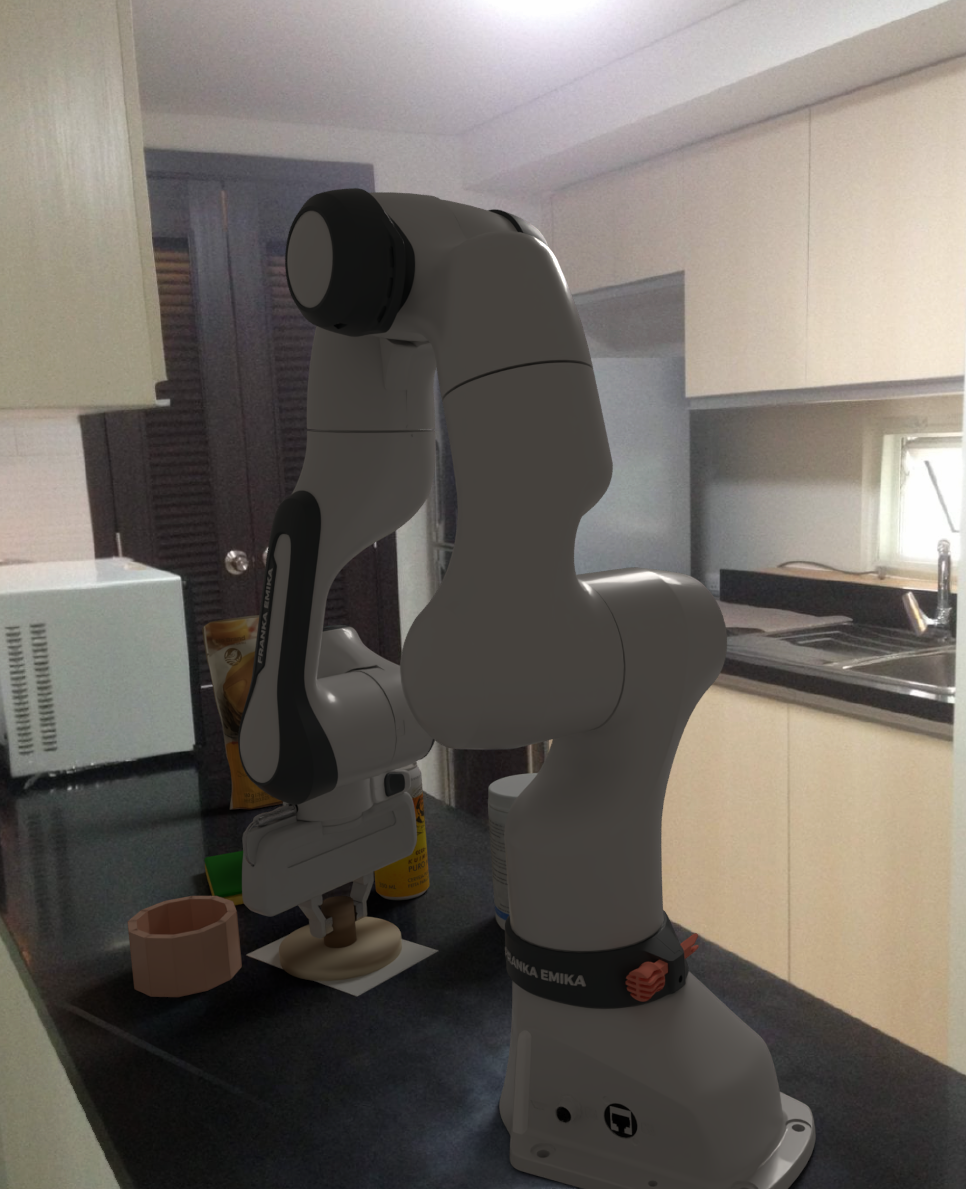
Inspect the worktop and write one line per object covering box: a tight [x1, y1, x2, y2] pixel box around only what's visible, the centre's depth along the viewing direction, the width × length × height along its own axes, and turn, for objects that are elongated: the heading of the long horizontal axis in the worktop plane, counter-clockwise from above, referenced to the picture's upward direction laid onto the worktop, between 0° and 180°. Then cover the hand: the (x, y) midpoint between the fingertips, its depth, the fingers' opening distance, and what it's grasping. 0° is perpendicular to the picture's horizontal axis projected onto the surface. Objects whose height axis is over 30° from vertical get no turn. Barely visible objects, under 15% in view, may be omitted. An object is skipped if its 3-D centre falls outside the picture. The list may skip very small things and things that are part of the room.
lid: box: [279, 895, 402, 982], centre depth 107 cm, size 12×12×5 cm
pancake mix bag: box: [201, 614, 283, 810], centre depth 162 cm, size 7×19×28 cm, turn 119°
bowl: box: [127, 895, 243, 998], centre depth 105 cm, size 10×10×6 cm
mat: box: [245, 934, 439, 997], centre depth 107 cm, size 16×11×1 cm
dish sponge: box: [203, 850, 245, 906], centre depth 129 cm, size 7×14×2 cm, turn 20°
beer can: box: [373, 761, 430, 901], centre depth 122 cm, size 6×6×15 cm
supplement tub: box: [487, 772, 538, 931], centre depth 112 cm, size 10×10×15 cm
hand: (339, 926), depth 107 cm, fingers closed on lid, 3 cm apart
